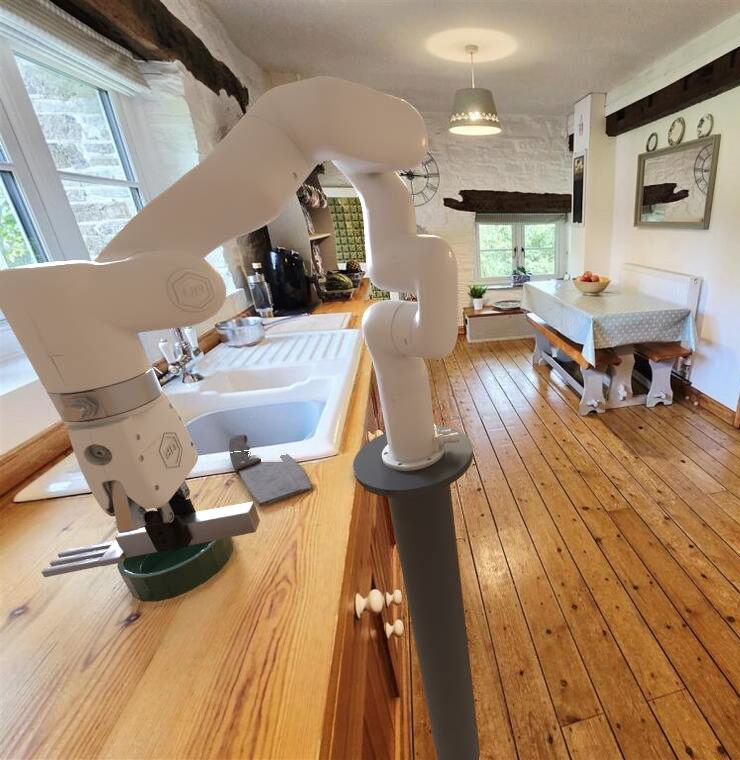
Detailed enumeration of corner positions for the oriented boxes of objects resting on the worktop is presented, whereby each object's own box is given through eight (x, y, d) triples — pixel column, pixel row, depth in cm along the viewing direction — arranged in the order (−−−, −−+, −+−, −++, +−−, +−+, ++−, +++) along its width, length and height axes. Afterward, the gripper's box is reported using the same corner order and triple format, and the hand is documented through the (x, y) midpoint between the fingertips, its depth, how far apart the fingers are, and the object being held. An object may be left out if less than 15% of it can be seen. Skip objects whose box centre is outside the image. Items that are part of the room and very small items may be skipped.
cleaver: (219, 449, 90) (216, 441, 89) (267, 432, 96) (265, 424, 95) (261, 513, 71) (257, 503, 70) (317, 486, 77) (315, 477, 76)
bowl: (245, 529, 67) (236, 505, 65) (217, 592, 56) (205, 564, 54) (159, 546, 64) (147, 521, 62) (112, 615, 53) (95, 587, 51)
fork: (261, 517, 50) (254, 498, 49) (254, 536, 48) (247, 515, 46) (64, 555, 46) (51, 535, 45) (43, 578, 43) (29, 557, 42)
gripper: (107, 427, 33) (188, 586, 41) (189, 361, 47) (238, 489, 55) (-8, 444, 32) (99, 607, 39) (112, 370, 46) (174, 501, 53)
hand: (180, 537), depth 47 cm, fingers closed on fork, 2 cm apart
